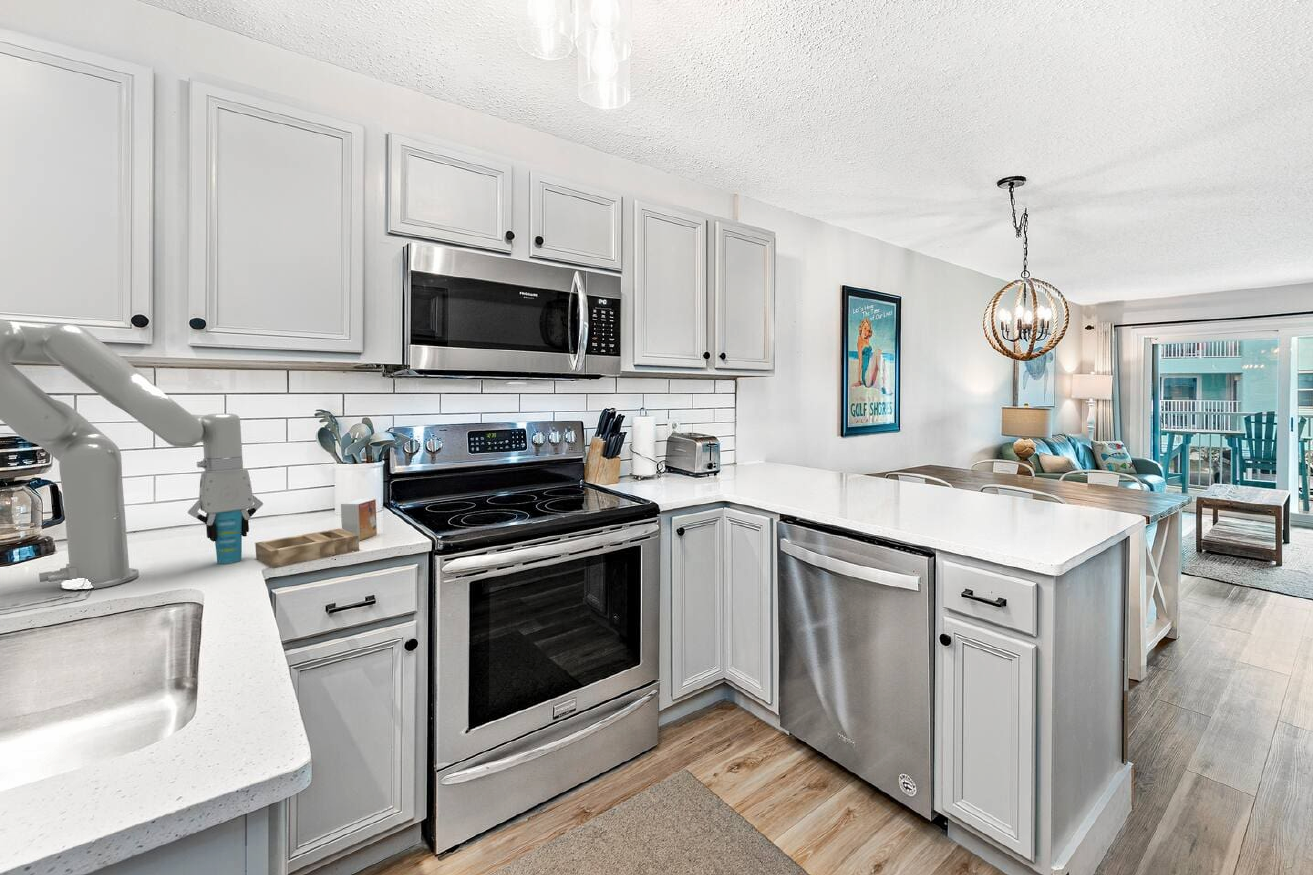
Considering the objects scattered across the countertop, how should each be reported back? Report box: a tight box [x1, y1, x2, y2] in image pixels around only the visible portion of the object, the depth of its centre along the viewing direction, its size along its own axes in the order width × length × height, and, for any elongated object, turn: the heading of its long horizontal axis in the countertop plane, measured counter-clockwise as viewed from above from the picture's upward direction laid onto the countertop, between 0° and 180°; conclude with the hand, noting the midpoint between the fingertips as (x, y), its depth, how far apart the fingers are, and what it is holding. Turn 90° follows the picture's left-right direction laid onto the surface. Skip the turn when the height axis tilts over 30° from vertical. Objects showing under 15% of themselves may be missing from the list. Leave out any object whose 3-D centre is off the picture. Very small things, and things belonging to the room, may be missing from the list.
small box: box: [340, 498, 378, 542], centre depth 169 cm, size 8×6×10 cm
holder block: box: [254, 528, 360, 569], centre depth 152 cm, size 20×12×4 cm, turn 139°
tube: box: [214, 510, 243, 565], centre depth 146 cm, size 7×5×19 cm, turn 123°
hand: (228, 537), depth 146 cm, fingers closed on tube, 5 cm apart
